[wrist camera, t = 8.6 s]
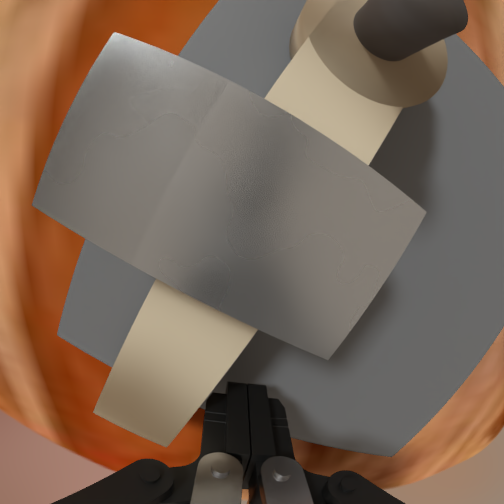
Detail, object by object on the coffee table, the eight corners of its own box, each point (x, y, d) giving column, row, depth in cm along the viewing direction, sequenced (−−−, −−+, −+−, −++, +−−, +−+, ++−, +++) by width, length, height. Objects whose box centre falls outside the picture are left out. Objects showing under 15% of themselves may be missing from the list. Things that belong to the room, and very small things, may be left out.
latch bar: (328, -16, 8) (380, -97, 3) (425, 56, 8) (517, 20, 4) (97, 366, 11) (50, 453, 6) (189, 412, 12) (176, 508, 7)
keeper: (161, 81, 9) (113, 32, 5) (354, 190, 10) (426, 211, 6) (106, 185, 10) (31, 204, 5) (294, 286, 11) (327, 360, 7)
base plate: (286, -61, 8) (289, -73, 7) (555, 185, 12) (566, 188, 11) (66, 324, 12) (57, 335, 11) (386, 446, 16) (391, 457, 15)
